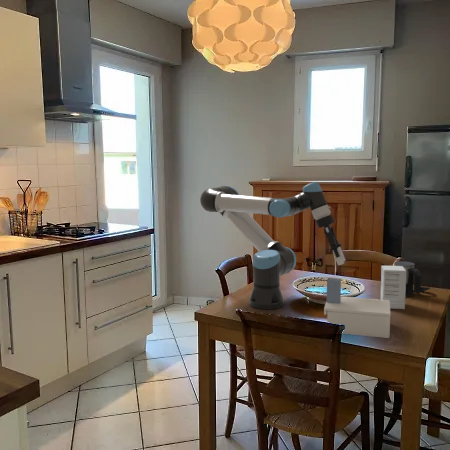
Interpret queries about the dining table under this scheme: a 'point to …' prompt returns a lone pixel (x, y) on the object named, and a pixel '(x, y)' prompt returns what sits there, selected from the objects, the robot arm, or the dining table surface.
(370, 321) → the mailer box
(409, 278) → the milk frother
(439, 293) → the dining table surface
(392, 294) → the supplement box
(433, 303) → the dining table surface
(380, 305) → the mailer lid
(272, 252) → the robot arm
